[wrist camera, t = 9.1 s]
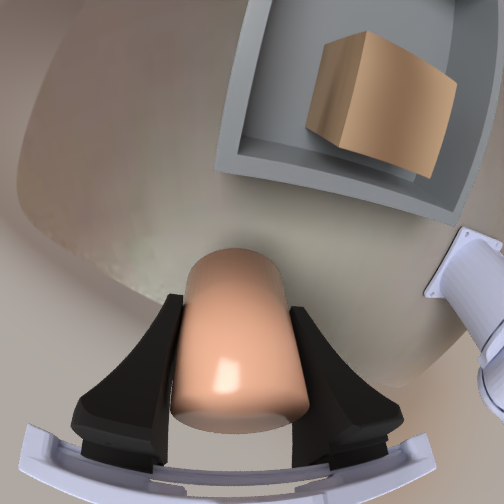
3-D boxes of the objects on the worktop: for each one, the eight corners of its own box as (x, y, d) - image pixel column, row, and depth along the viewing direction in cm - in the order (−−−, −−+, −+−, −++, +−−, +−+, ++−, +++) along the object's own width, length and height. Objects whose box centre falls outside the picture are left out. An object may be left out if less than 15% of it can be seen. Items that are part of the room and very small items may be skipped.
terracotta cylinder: (293, 255, 13) (332, 383, 8) (269, 322, 16) (285, 433, 10) (189, 242, 12) (165, 378, 7) (184, 314, 15) (172, 429, 9)
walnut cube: (400, 76, 11) (457, 83, 7) (380, 149, 14) (429, 178, 10) (324, 44, 11) (366, 30, 7) (304, 126, 13) (338, 147, 9)
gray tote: (457, -6, 7) (503, -9, 3) (412, 191, 17) (454, 227, 12) (279, -90, 5) (295, -129, 1) (218, 144, 14) (212, 171, 10)
